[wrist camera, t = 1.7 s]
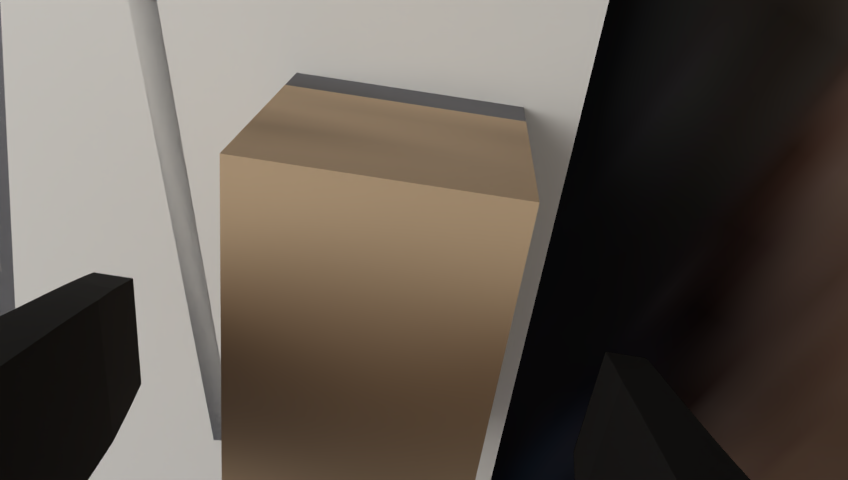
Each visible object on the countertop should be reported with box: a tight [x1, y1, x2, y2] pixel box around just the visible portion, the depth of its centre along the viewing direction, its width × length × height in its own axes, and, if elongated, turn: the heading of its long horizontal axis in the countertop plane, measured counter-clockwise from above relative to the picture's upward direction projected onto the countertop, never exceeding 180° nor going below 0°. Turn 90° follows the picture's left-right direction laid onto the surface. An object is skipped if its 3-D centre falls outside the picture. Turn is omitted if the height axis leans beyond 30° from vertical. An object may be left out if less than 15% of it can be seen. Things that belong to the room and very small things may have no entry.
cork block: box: [220, 73, 540, 480], centre depth 12 cm, size 7×4×4 cm, turn 172°
